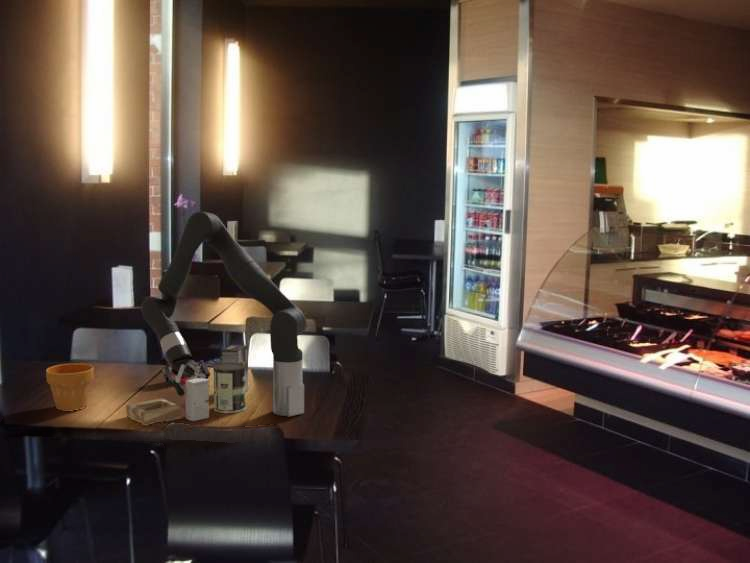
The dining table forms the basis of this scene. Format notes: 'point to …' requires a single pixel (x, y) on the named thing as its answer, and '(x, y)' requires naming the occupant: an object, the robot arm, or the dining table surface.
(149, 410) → the frame
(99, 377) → the dining table surface
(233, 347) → the coffee box
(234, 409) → the coffee can
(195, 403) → the skincare box
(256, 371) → the dining table surface
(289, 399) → the robot arm
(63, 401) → the flower pot
